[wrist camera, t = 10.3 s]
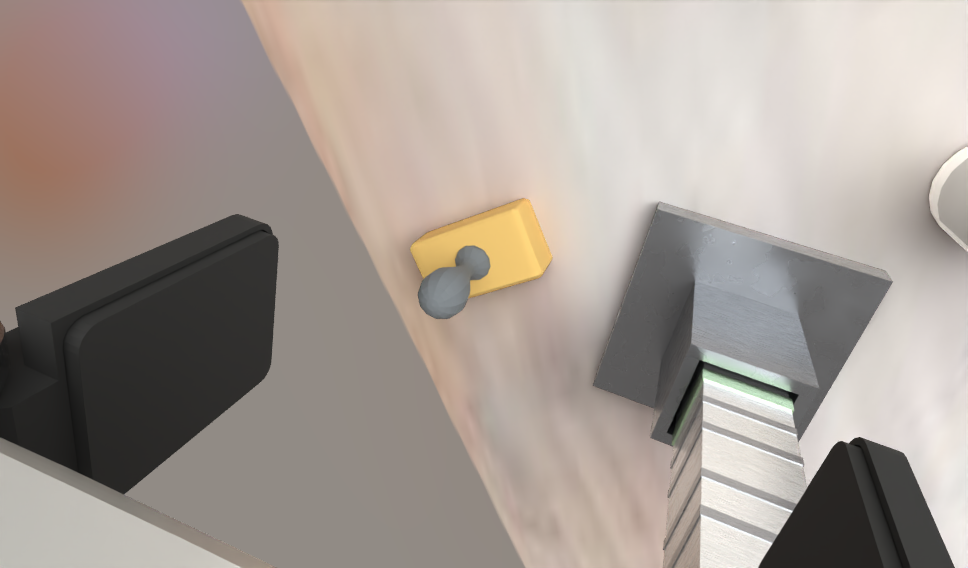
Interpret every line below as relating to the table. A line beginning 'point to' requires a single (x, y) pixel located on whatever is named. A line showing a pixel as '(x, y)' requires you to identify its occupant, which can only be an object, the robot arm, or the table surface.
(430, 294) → the rubber stamp
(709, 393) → the block
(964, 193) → the spray bottle
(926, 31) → the table surface
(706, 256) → the jack stand base
